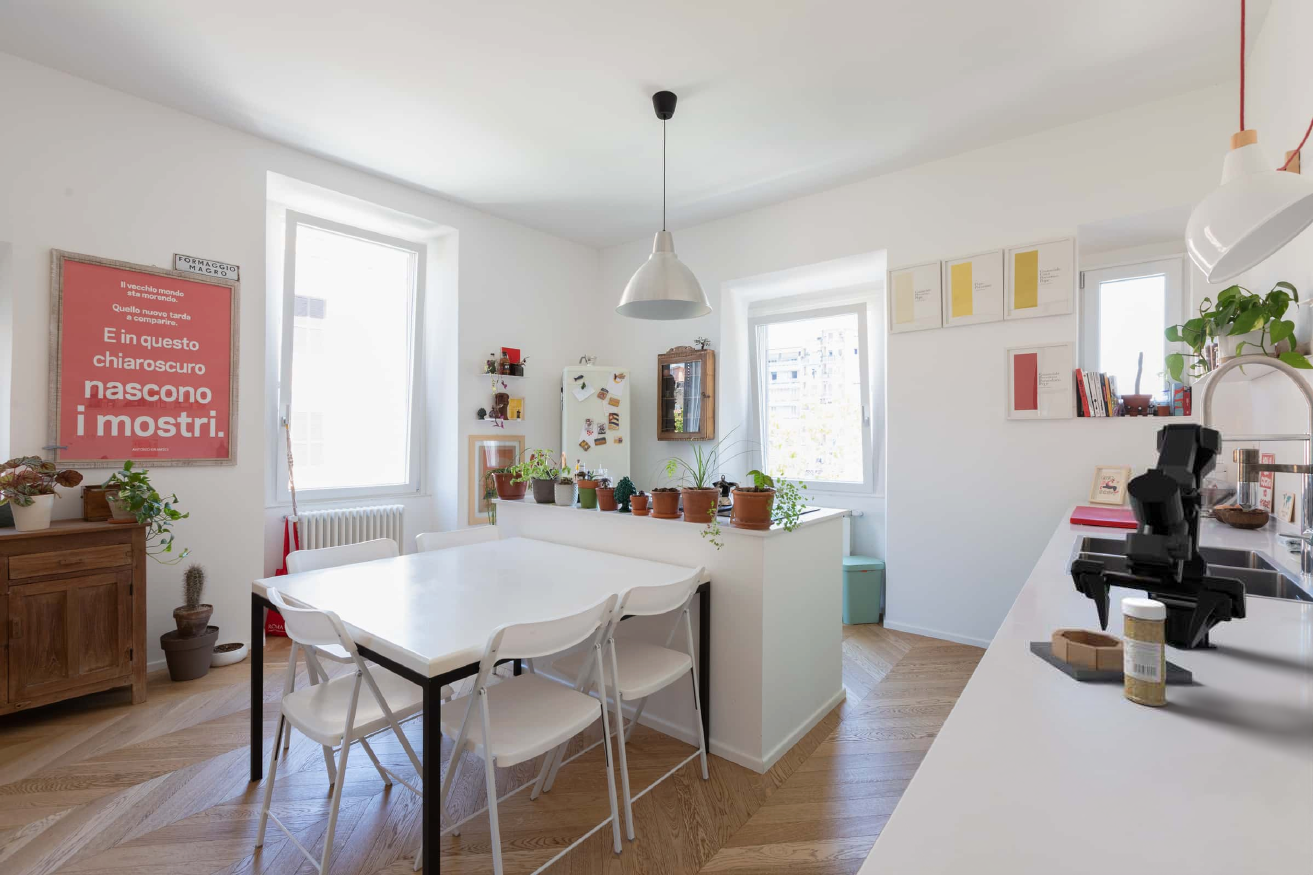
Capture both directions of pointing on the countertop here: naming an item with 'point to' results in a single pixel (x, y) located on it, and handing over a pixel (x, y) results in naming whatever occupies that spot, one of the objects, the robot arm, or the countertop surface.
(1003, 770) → the countertop surface
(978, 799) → the countertop surface
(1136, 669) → the sprinkles bottle
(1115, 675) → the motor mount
